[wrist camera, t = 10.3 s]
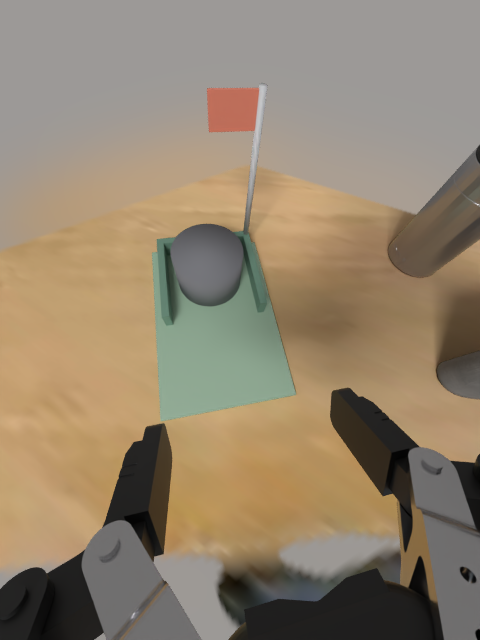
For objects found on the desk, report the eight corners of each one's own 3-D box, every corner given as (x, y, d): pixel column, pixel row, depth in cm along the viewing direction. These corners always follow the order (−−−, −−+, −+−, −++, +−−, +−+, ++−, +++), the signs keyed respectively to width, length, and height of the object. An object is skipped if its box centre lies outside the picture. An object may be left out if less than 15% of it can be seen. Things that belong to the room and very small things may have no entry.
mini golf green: (254, 243, 44) (282, 82, 23) (295, 395, 33) (413, 339, 13) (152, 254, 41) (85, 83, 21) (161, 421, 30) (39, 405, 10)
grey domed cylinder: (233, 252, 42) (235, 220, 36) (245, 301, 38) (250, 275, 32) (176, 259, 41) (167, 227, 34) (182, 310, 37) (173, 285, 30)
